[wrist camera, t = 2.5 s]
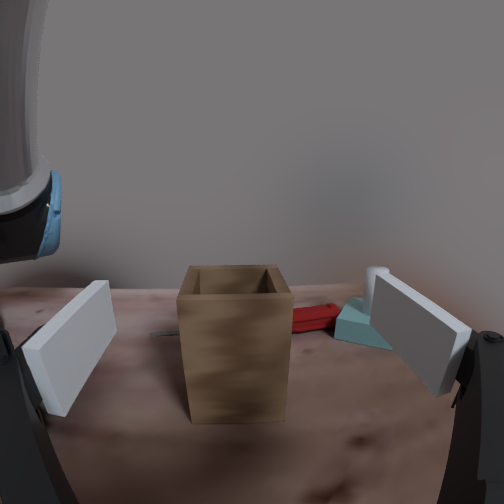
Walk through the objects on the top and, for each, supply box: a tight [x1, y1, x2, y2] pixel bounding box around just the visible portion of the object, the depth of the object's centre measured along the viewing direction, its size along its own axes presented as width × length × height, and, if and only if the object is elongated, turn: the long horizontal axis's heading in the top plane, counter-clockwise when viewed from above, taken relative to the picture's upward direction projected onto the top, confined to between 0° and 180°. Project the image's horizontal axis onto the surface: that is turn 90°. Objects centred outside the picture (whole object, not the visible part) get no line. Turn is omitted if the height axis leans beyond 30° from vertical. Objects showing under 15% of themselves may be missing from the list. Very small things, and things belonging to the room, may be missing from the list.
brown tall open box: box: [176, 265, 294, 424], centre depth 26 cm, size 8×8×12 cm
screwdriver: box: [150, 303, 340, 336], centre depth 38 cm, size 4×25×4 cm, turn 104°
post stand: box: [334, 266, 393, 350], centre depth 38 cm, size 8×8×9 cm
